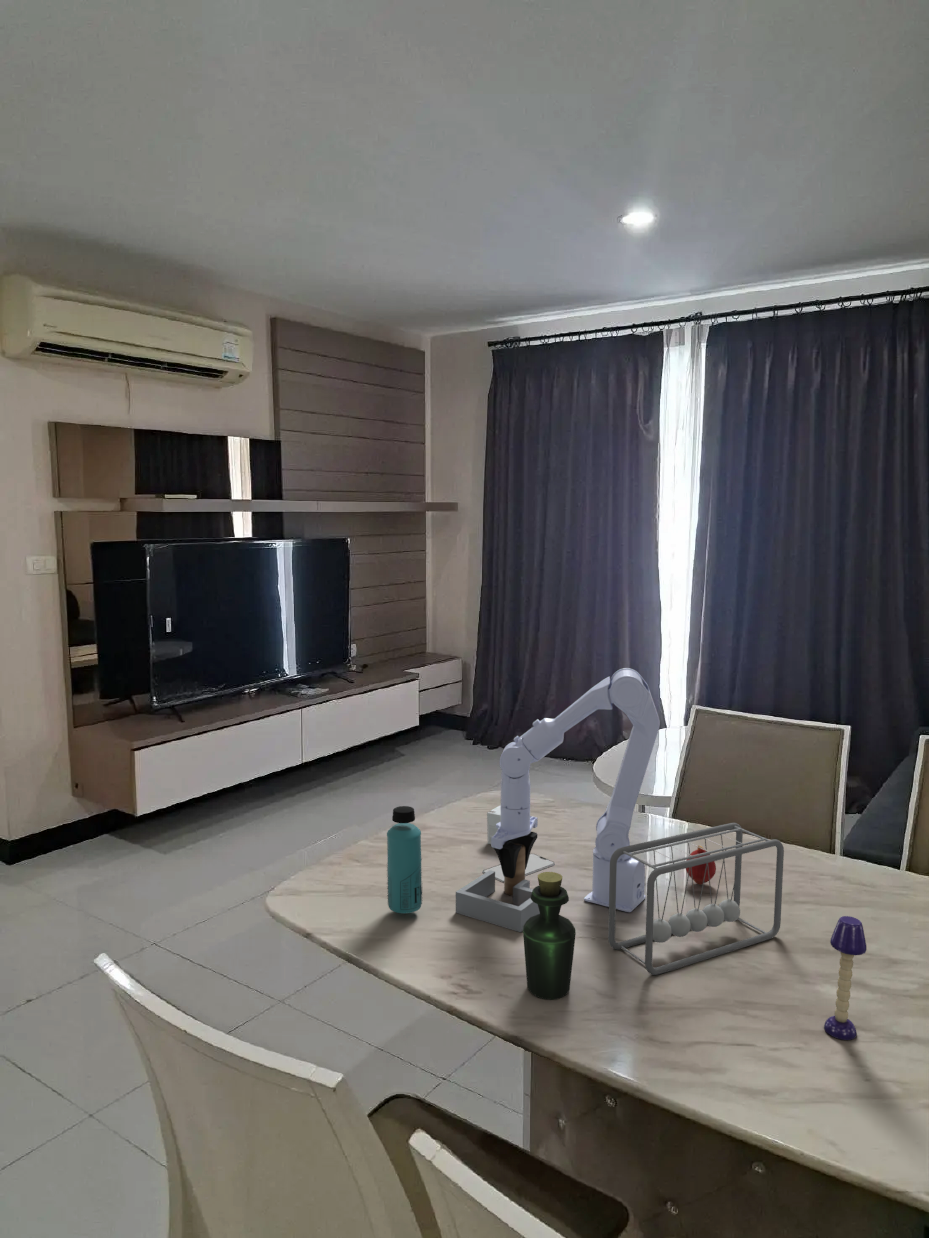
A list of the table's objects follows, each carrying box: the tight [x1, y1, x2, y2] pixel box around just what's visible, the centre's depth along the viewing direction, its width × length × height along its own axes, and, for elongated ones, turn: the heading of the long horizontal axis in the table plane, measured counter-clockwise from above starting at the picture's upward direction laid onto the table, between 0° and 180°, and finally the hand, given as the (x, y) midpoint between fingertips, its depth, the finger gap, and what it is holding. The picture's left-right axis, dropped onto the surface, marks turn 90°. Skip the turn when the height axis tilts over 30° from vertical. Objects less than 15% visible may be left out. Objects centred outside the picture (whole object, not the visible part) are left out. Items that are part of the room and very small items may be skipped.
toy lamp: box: [823, 915, 868, 1041], centre depth 120 cm, size 5×5×17 cm
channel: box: [455, 870, 540, 933], centre depth 159 cm, size 14×12×4 cm
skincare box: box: [486, 804, 501, 845], centre depth 193 cm, size 6×6×7 cm
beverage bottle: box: [386, 805, 424, 914], centre depth 156 cm, size 6×7×20 cm
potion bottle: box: [522, 871, 576, 1000], centre depth 131 cm, size 8×8×18 cm
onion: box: [685, 845, 717, 886], centre depth 170 cm, size 6×6×8 cm
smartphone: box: [482, 853, 556, 883], centre depth 178 cm, size 7×1×15 cm
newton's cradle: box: [607, 822, 785, 976], centre depth 146 cm, size 30×10×18 cm, turn 119°
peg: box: [503, 843, 526, 897], centre depth 167 cm, size 4×4×9 cm
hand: (514, 872), depth 167 cm, fingers closed on peg, 4 cm apart
